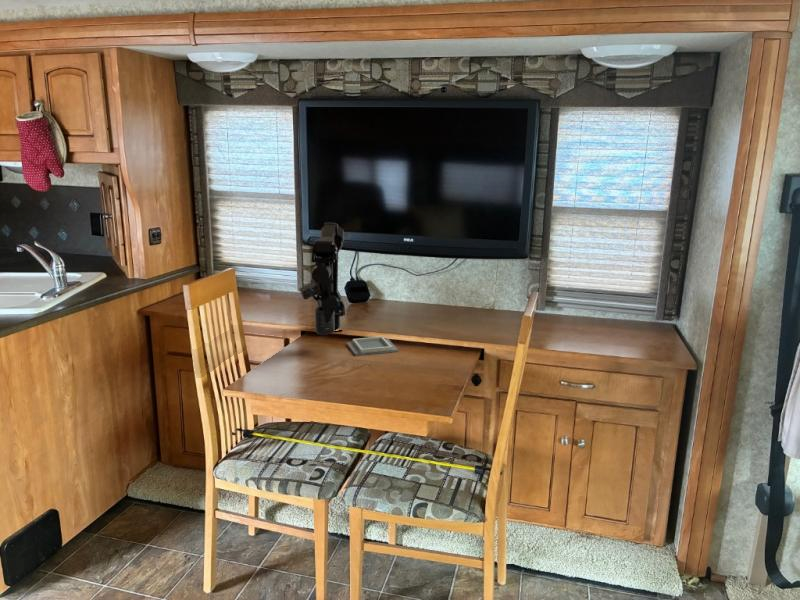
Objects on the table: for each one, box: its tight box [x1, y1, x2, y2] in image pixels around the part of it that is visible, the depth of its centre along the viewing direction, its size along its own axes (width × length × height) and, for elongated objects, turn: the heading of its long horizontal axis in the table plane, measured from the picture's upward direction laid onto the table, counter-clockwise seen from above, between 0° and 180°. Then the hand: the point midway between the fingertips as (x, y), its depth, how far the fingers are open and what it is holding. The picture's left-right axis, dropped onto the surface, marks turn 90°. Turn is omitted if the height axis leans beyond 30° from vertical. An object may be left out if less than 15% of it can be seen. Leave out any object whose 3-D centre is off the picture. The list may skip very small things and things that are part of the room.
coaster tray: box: [346, 336, 399, 357], centre depth 221 cm, size 12×16×2 cm
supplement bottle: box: [314, 298, 335, 336], centre depth 214 cm, size 7×7×12 cm
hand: (324, 319), depth 214 cm, fingers closed on supplement bottle, 7 cm apart
